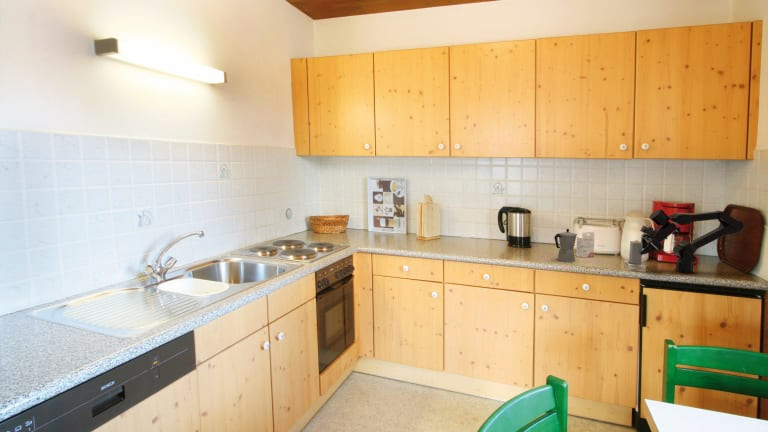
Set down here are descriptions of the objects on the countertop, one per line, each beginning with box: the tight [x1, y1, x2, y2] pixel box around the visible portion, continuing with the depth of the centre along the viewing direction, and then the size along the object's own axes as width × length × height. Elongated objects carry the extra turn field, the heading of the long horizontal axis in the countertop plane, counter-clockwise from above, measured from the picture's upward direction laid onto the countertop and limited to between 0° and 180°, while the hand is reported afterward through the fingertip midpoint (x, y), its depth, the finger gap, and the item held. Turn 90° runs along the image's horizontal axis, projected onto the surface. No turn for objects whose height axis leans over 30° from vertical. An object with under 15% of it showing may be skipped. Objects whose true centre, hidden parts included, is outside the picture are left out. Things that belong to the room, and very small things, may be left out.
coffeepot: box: [553, 228, 578, 263], centre depth 251 cm, size 15×9×18 cm, turn 110°
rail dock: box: [623, 260, 647, 273], centre depth 233 cm, size 8×9×3 cm
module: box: [628, 239, 643, 265], centre depth 232 cm, size 4×5×14 cm
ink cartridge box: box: [575, 231, 595, 259], centre depth 261 cm, size 9×5×15 cm, turn 105°
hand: (638, 252), depth 232 cm, fingers open, 9 cm apart
